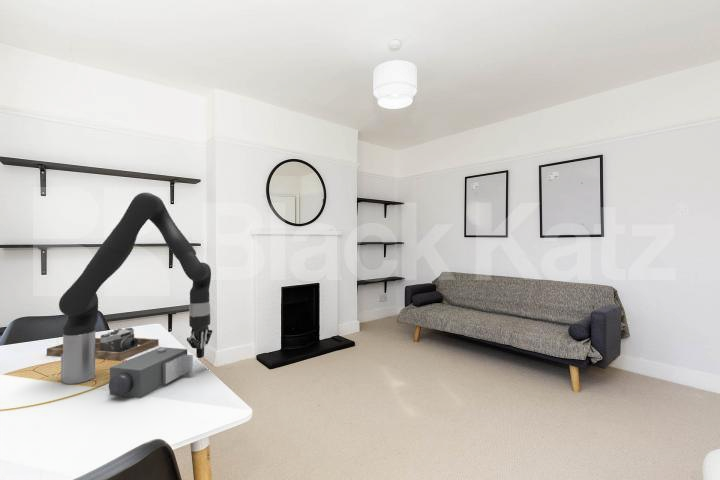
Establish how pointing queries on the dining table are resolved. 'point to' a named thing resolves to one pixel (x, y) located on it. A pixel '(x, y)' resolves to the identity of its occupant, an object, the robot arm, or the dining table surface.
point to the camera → (118, 340)
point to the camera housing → (141, 373)
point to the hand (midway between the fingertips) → (200, 357)
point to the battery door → (177, 367)
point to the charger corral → (59, 349)
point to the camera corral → (144, 345)
